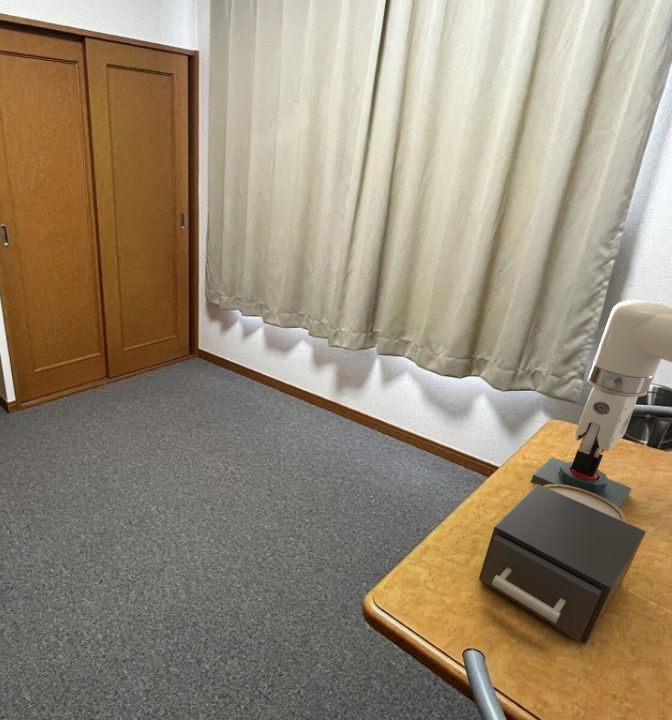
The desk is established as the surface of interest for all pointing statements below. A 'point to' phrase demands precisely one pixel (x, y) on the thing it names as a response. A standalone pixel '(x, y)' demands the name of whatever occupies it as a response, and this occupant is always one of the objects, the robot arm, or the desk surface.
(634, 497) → the desk surface
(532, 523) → the cabinet
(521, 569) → the drawer
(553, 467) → the panel
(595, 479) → the button
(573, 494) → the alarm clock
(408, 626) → the desk surface
